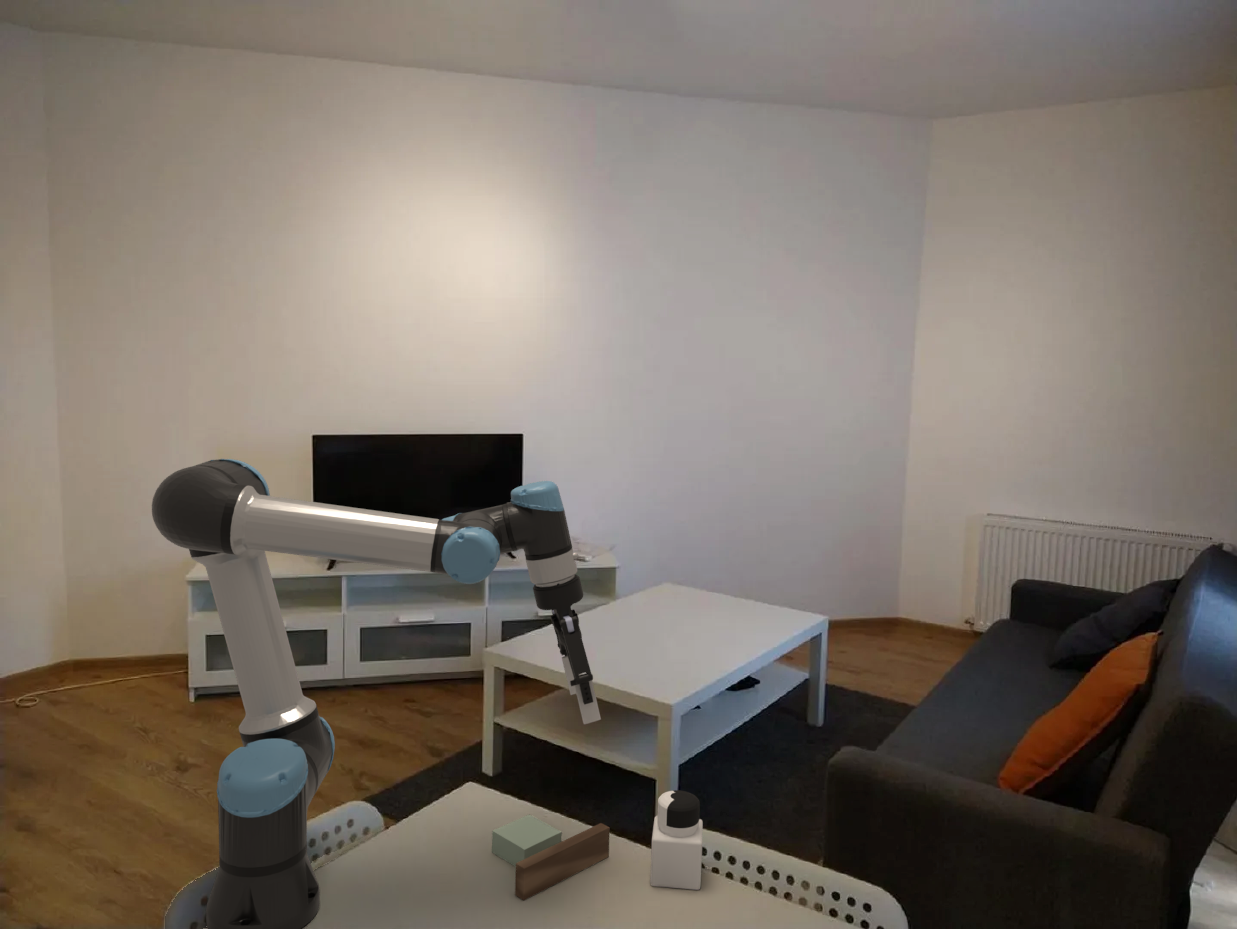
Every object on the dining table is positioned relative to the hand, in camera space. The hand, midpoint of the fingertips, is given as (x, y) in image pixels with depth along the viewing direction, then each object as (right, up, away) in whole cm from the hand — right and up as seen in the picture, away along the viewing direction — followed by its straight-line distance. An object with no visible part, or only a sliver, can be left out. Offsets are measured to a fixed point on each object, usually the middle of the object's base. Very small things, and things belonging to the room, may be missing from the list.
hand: (584, 706), depth 144 cm
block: (-10, -25, +4) cm, 27 cm away
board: (-3, -26, -3) cm, 26 cm away
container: (+14, -26, -2) cm, 30 cm away
